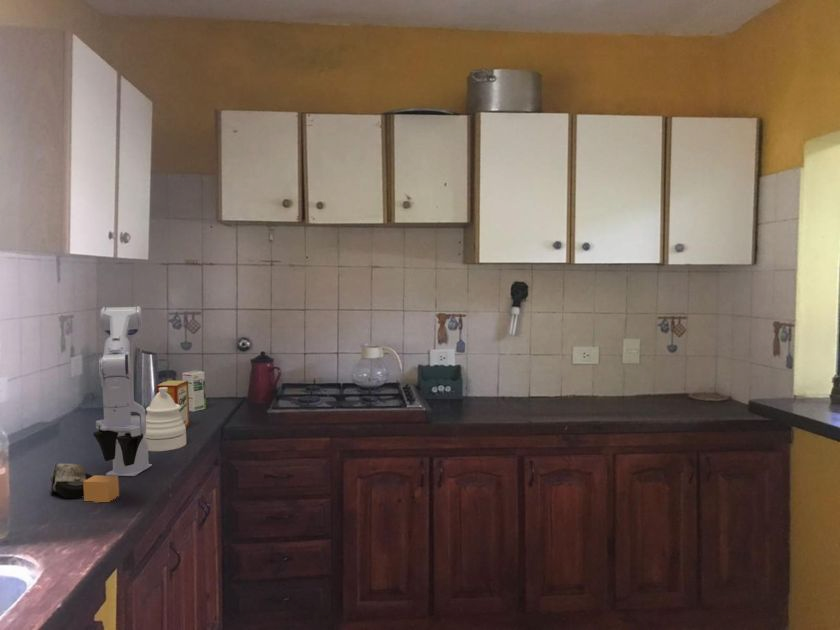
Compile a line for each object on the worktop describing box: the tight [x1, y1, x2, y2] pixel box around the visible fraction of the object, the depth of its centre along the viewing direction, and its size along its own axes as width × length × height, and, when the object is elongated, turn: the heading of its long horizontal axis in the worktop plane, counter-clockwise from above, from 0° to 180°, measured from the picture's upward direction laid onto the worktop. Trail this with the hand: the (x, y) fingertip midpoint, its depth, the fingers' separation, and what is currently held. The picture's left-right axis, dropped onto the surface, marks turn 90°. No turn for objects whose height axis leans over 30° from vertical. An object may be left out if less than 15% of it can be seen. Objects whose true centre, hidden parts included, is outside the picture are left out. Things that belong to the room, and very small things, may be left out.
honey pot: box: [143, 387, 187, 452], centre depth 206 cm, size 13×13×18 cm
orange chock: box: [83, 475, 120, 503], centre depth 160 cm, size 4×6×5 cm
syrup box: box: [182, 370, 207, 412], centre depth 255 cm, size 6×6×14 cm
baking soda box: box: [156, 379, 191, 429], centre depth 226 cm, size 10×6×16 cm
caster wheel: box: [50, 458, 94, 499], centre depth 165 cm, size 7×11×10 cm
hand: (119, 462), depth 159 cm, fingers open, 7 cm apart
